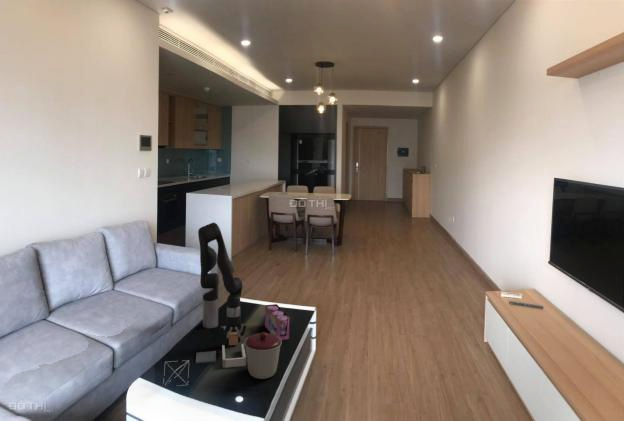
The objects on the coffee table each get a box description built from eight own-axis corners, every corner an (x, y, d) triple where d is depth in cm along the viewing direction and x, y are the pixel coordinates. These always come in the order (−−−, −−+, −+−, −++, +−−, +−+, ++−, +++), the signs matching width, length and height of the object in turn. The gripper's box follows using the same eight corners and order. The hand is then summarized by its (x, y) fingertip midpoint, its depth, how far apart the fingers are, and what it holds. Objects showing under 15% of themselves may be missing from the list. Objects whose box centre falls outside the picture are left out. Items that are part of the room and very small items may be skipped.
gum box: (290, 340, 233) (290, 317, 232) (277, 342, 230) (278, 319, 228) (276, 324, 255) (276, 303, 253) (264, 326, 252) (264, 305, 250)
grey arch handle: (222, 352, 216) (222, 345, 215) (243, 350, 218) (243, 343, 218) (222, 367, 200) (222, 360, 200) (245, 365, 203) (246, 358, 202)
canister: (265, 388, 184) (266, 344, 181) (235, 375, 193) (236, 334, 191) (288, 371, 199) (289, 330, 196) (259, 360, 209) (260, 321, 206)
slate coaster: (196, 354, 213) (196, 352, 213) (215, 352, 215) (215, 351, 215) (195, 363, 203) (195, 361, 203) (216, 361, 206) (216, 360, 206)
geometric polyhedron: (167, 392, 178) (167, 373, 177) (158, 381, 186) (158, 363, 185) (194, 383, 186) (194, 364, 185) (184, 373, 194) (184, 355, 193)
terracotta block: (228, 341, 226) (228, 332, 225) (237, 340, 227) (237, 332, 227) (228, 345, 221) (228, 336, 221) (238, 344, 223) (238, 335, 222)
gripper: (220, 317, 215) (220, 347, 218) (247, 315, 219) (246, 345, 221) (220, 312, 222) (219, 341, 225) (246, 310, 226) (245, 339, 229)
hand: (233, 342), depth 223 cm, fingers closed on terracotta block, 5 cm apart
